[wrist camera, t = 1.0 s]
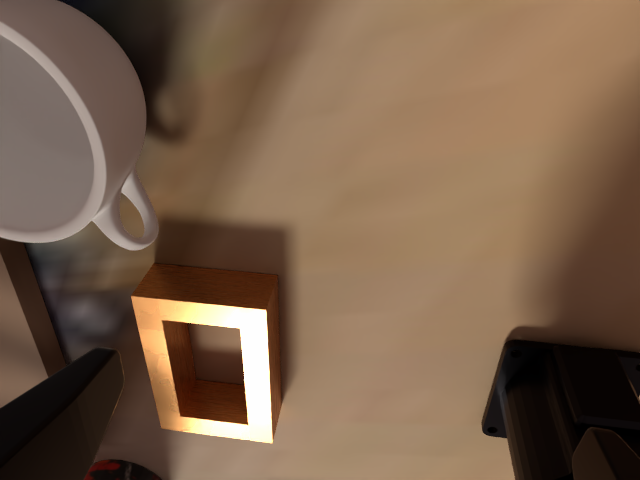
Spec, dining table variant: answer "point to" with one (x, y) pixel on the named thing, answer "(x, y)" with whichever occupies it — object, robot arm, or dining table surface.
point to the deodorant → (119, 471)
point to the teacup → (67, 127)
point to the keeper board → (23, 326)
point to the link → (176, 354)
